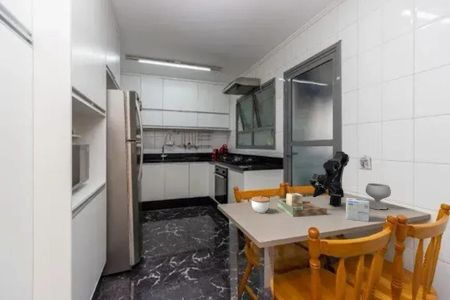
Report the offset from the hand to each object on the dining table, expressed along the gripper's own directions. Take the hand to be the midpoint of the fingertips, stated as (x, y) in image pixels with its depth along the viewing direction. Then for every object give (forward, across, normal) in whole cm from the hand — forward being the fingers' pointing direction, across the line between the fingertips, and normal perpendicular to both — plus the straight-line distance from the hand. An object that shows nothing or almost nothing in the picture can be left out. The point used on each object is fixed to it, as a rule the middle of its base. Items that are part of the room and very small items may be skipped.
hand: (313, 196), depth 144 cm
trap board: (+12, 0, 0) cm, 12 cm away
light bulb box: (-3, +19, +16) cm, 25 cm away
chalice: (-25, +2, +41) cm, 48 cm away
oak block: (+13, 0, -6) cm, 14 cm away
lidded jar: (+28, -4, -19) cm, 34 cm away
